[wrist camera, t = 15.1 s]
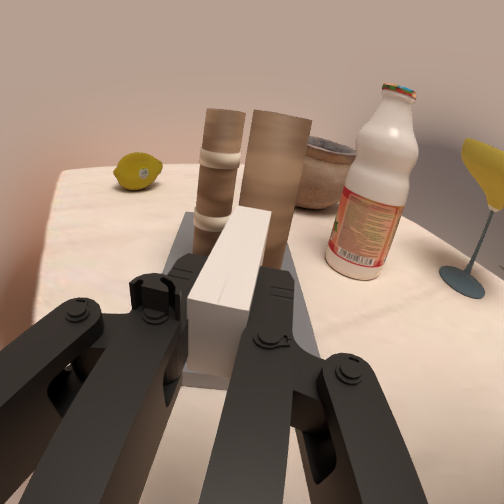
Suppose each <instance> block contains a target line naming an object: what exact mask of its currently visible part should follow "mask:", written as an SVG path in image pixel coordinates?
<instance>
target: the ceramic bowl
mask: <svg viewBox="0 0 504 504" xmlns="http://www.w3.org/2000/svg"><path fill="white" fill-rule="evenodd" d="M355 157H356V150H354V149H352V148H350V147H348V146H345V145H341V144H338V143H335V142H332V141H329V140H325V139H322V138H318V137H312V136H309V140H308V145H307V150H306V155H305V160H304V165H303V170H302V175H301V179H300V184H299V189H298V194H297V198H296V203H295V206H298V207H303V208H309V209H321V208H327V207H329V206H331V205H333V204H335V203H336V202H338V201H340V199H341V196H342V192H343V188H344V183H345V179H346V176H347V173H348V170H349V168H350V166H351V164H352V163H353V162H354V160H355Z"/></svg>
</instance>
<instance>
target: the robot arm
mask: <svg viewBox="0 0 504 504" xmlns="http://www.w3.org/2000/svg"><path fill="white" fill-rule="evenodd" d="M270 218H271V211H266V210H260V209H255V208H249V207H243V206H238V205H236V207H235V209H234V211H233V212H232V214H231V216H230V218H229V220H228V222H227V223H226V225H225V227H224V229H223V231H222V233H221V235H220V236H219V238H218V240H217V242H216V244H215V246H214V248H213V249H212V251H211V253H210V255H209V257H206V256H201V255H196V254H191V253H187V254H186V255H184V256H182V257H180V258H179V259H177V261H176V262H175V264H174V265H173V267H172V269H171V270H170V271H169V273H168V274H167V275H165V274H158V273H150V274H143V275H141V276H138V277H136V278H134V279H133V280H132V281H131V282H129V287H130V296H131V305H132V310H131V311H130V313H127V314H106V313H102V312H101V309H100V306H99V304H98V303H96V302H95V301H94V300H92V299H89V298H79V297H78V298H74V299H70V300H68V301H66V302H64V303H62V304H61V305H59V306H58V307H57V308H55V309H54V310H53V311H51V312H50V313H49V314H47V315H46V316H45V317H43V318H42V319H41V320H39V321H38V322H37V323H35V324H34V325H33V326H31V327H30V328H29V329H28V330H26V331H25V332H24V333H22V334H21V335H20V336H19V337H17V338H16V339H15V340H14V341H12V342H11V343H10V344H9V345H7V346H6V347H5V348H4V349H2V350H1V351H0V504H4V503H5V502H6V501H7V500H8V499H9V498H10V497H11V496H12V494H13V493H14V492H15V491H16V490H17V489H18V488H19V487H20V486H21V484H22V483H23V482H24V481H25V480H26V479H27V478H28V477H29V476H30V474H31V473H32V472H33V471H34V470H35V471H34V473H33V475H32V477H31V479H30V481H29V483H28V485H27V487H26V489H25V491H24V493H23V495H22V497H21V499H20V501H19V504H138V503H139V500H140V497H141V494H142V492H143V489H144V486H145V483H146V480H147V477H148V475H149V472H150V469H151V466H152V463H153V461H154V458H155V455H156V452H157V450H158V447H159V444H160V441H161V439H162V436H163V433H164V430H165V428H166V425H167V422H168V419H169V417H170V414H171V411H172V409H173V406H174V403H175V401H176V398H177V395H178V393H179V390H180V387H181V385H182V378H183V376H182V370H183V368H184V365H185V363H186V360H187V369H189V370H193V371H197V372H201V373H205V374H209V375H214V376H218V377H223V378H228V379H230V382H229V386H228V390H227V394H226V398H225V402H224V406H223V410H222V414H221V418H220V422H219V426H218V430H217V434H216V438H215V442H214V445H213V449H212V453H211V457H210V461H209V465H208V469H207V473H206V476H205V480H204V484H203V488H202V492H201V496H200V499H199V503H198V504H282V503H283V494H284V486H285V476H286V467H287V456H288V446H289V434H290V426H292V427H294V428H295V431H296V435H297V440H298V444H299V449H300V454H301V458H302V463H303V468H304V472H305V477H306V482H307V486H308V491H309V496H310V501H311V504H428V502H427V499H426V497H425V494H424V491H423V488H422V486H421V483H420V480H419V478H418V475H417V473H416V470H415V467H414V465H413V462H412V460H411V457H410V455H409V452H408V450H407V447H406V445H405V442H404V440H403V437H402V435H401V433H400V430H399V428H398V425H397V423H396V421H395V418H394V416H393V414H392V411H391V409H390V407H389V405H388V402H387V400H386V398H385V395H384V393H383V391H382V389H381V386H380V384H379V382H378V380H377V378H376V375H375V373H374V371H373V370H372V368H371V367H370V365H369V364H368V363H367V362H366V361H364V360H363V359H362V358H360V357H358V356H355V355H353V354H349V353H338V354H334V355H332V356H330V357H329V358H327V359H326V360H324V359H321V358H319V357H316V356H314V355H312V354H310V353H308V352H306V351H305V350H303V349H302V348H301V347H300V346H299V345H298V344H297V343H296V341H295V339H294V337H293V332H292V328H293V308H294V285H295V280H294V279H293V277H292V275H291V274H290V272H289V271H285V270H280V269H274V268H269V267H264V266H262V263H263V257H264V251H265V246H266V240H267V235H268V229H269V223H270ZM70 363H71V364H70ZM69 364H70V365H69ZM67 365H69V366H67ZM66 366H67V367H66Z"/></svg>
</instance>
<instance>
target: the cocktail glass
mask: <svg viewBox="0 0 504 504" xmlns="http://www.w3.org/2000/svg"><path fill="white" fill-rule="evenodd" d="M461 156H462V160H463V162H464V164H465V166H466V167H467V169H468V170H469V172H470V173H471V174H472V176H473V177H474V178H475V180H476V181H477V182H478V183H479V185H480V186H481V188H482V189H483V191H484V193H485V194H486V197H487V201H488V206H489V208H490V209H491V212H490V215H489V218H488V220H487V223H486V225H485V228H484V231H483V233H482V236H481V238H480V240H479V243H478V245H477V248H476V250H475V252H474V254H473V256H472V258H471V260H470V262H469V264H468V265H467V267H466V269H465V270H464V271H463V270H461V269H458V268H456V267H452V266H442V267H441V268H440V270H439V272H440V275H441V277H442V279H443V280H444V281H445V282H446V283H447V284H448V285H449V286H450V287H452V288H453V289H454V290H456V291H457V292H459V293H461V294H463V295H465V296H468V297H471V298H475V299H479V298H482V297H483V296H484V295H485V291H484V288H483V286H482V285H481V284H480V283H479V282H478V281H477V280H476V279H475V278H474V277H473V276H471V275H470V272H471V269H472V266H473V263H474V261H475V258H476V256H477V253H478V251H479V249H480V246H481V244H482V241H483V239H484V236H485V234H486V231H487V229H488V226H489V223H490V221H491V218H492V215H493V213H494V212H497V211H499V210H501V209H502V208H504V152H503V151H501V150H499V149H497V148H494V147H492V146H489V145H487V144H485V143H482V142H480V141H476V140H473V139H470V138H466V139H465V141H464V143H463V147H462V152H461Z"/></svg>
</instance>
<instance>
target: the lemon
mask: <svg viewBox="0 0 504 504" xmlns="http://www.w3.org/2000/svg"><path fill="white" fill-rule="evenodd" d="M161 170H162V162H161V161H159V160H157V159H156V158H154V157H153V156H151V155H149V154H146V153H139V152H137V153H131V154H128V155H126V156H124V157H123V158H122V159H121V160H120V161H119V163H118V166H117V167H116V169H115V170H114V172H113V173H114V175H115V177H116V178H117V180H118V183H119V184H120V185H121V186H122V187H123V188H126V189H129V190H139V189H143V188H145V187H147V186H149V185H150V184H151V183H153V182H154V181H155V179H156V178H157V176H158V175H159V174H160V173H161Z"/></svg>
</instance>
